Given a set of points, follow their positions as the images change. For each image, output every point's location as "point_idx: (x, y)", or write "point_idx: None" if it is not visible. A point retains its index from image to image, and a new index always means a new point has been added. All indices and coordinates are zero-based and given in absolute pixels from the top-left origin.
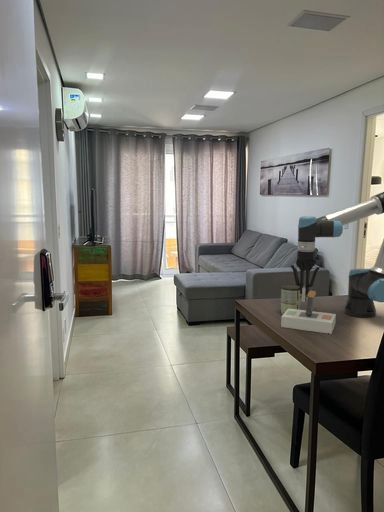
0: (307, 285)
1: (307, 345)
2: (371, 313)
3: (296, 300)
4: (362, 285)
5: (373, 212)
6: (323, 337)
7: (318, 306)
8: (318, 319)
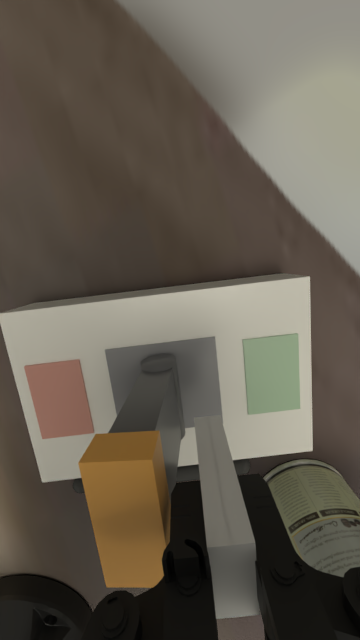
0: (176, 610)
1: (72, 59)
2: None
3: (298, 553)
4: None
5: None
6: (47, 232)
7: None
8: (89, 337)
